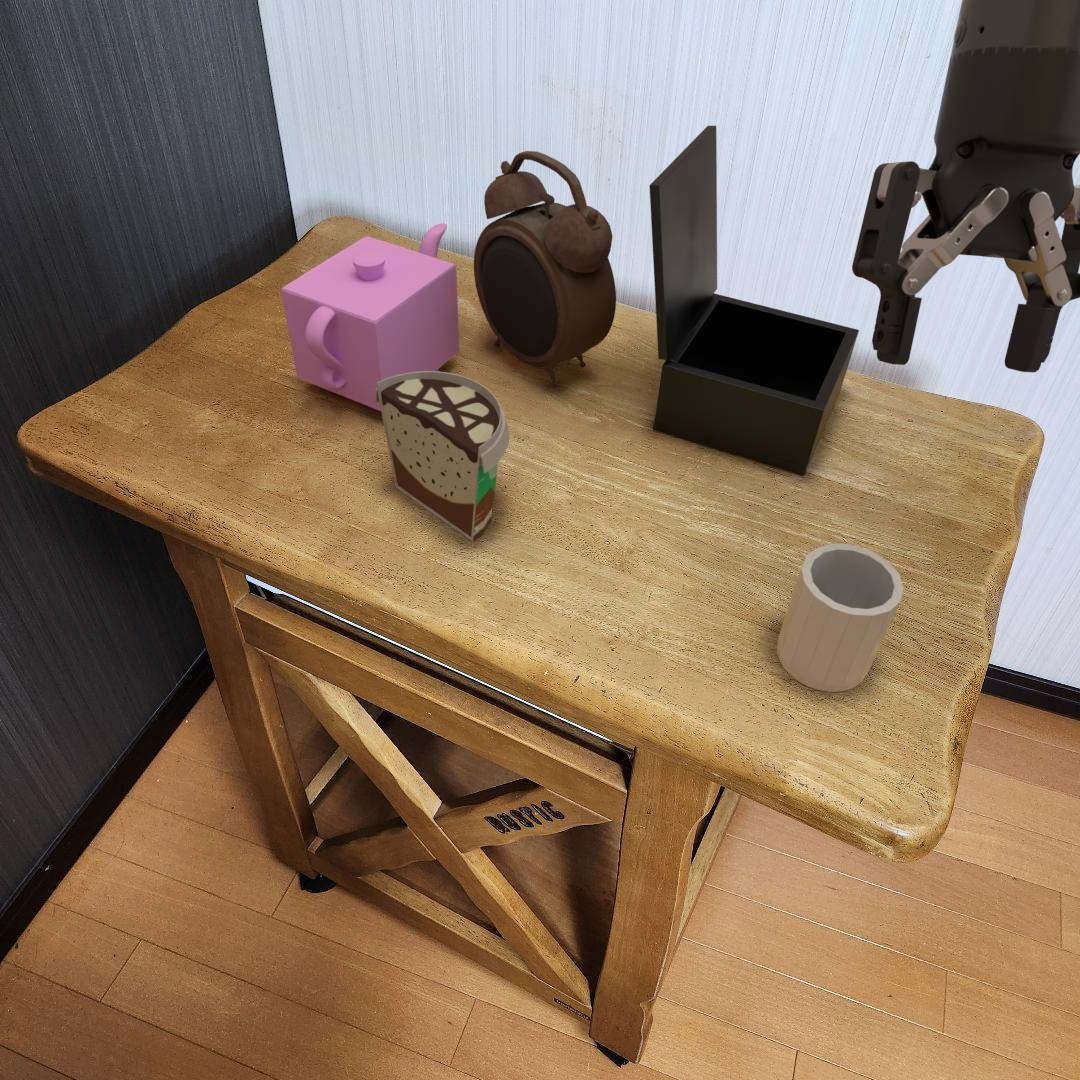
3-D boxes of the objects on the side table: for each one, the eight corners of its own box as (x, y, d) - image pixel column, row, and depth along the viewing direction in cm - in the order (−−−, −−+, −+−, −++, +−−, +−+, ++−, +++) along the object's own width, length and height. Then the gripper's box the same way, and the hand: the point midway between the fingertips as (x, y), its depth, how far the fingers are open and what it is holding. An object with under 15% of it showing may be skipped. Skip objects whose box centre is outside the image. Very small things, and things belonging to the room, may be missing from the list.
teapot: (369, 441, 80) (353, 315, 72) (281, 405, 84) (255, 280, 75) (490, 339, 93) (489, 221, 84) (410, 311, 97) (400, 195, 88)
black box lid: (716, 125, 77) (707, 125, 78) (659, 185, 68) (649, 185, 68) (717, 288, 87) (709, 288, 87) (667, 360, 77) (658, 359, 78)
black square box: (839, 393, 88) (859, 329, 83) (804, 476, 79) (824, 410, 74) (701, 355, 92) (712, 292, 87) (652, 430, 83) (662, 364, 78)
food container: (540, 513, 74) (544, 414, 67) (486, 551, 71) (484, 451, 64) (437, 447, 80) (431, 349, 73) (383, 479, 77) (371, 379, 70)
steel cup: (876, 640, 66) (910, 562, 60) (858, 705, 61) (893, 628, 56) (789, 609, 68) (815, 531, 62) (765, 671, 63) (791, 593, 58)
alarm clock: (464, 343, 92) (457, 142, 78) (519, 320, 96) (521, 123, 82) (559, 410, 85) (570, 200, 71) (615, 382, 88) (636, 176, 74)
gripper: (953, 22, 42) (882, 372, 48) (1203, 59, 45) (1111, 383, 51) (867, 48, 49) (813, 351, 54) (1089, 79, 52) (1018, 362, 58)
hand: (957, 366), depth 53 cm, fingers open, 8 cm apart
